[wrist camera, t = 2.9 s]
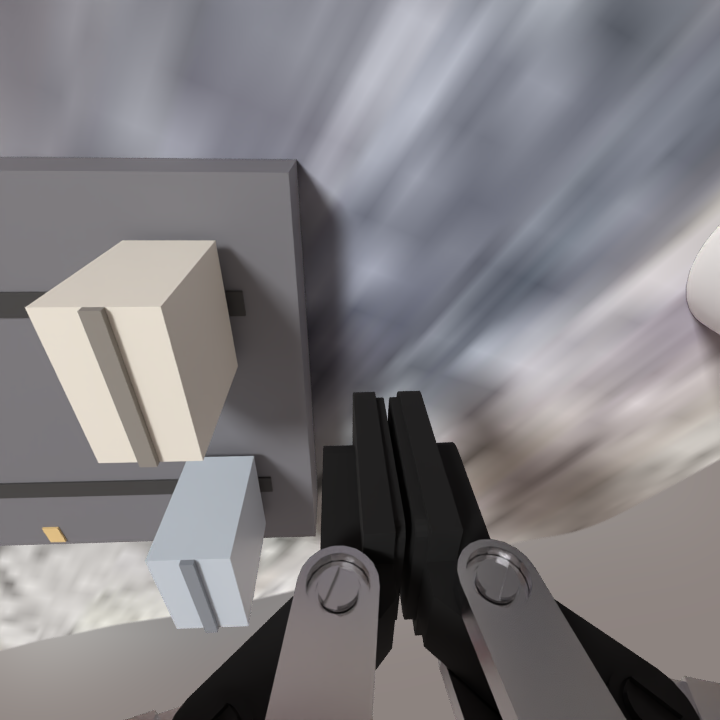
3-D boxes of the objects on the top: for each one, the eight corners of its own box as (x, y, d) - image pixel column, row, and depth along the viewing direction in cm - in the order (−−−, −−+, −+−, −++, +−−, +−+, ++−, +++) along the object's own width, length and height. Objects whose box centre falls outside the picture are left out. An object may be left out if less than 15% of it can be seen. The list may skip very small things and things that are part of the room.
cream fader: (122, 240, 13) (18, 311, 9) (215, 240, 14) (157, 310, 9) (160, 366, 16) (95, 468, 12) (237, 366, 16) (201, 465, 12)
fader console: (-513, 152, 14) (-700, 165, 12) (296, 159, 16) (288, 173, 13) (-151, 504, 25) (-209, 553, 22) (317, 492, 26) (315, 537, 23)
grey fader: (187, 457, 19) (142, 566, 15) (254, 456, 19) (228, 563, 15) (208, 524, 22) (175, 634, 17) (265, 523, 22) (247, 631, 17)
